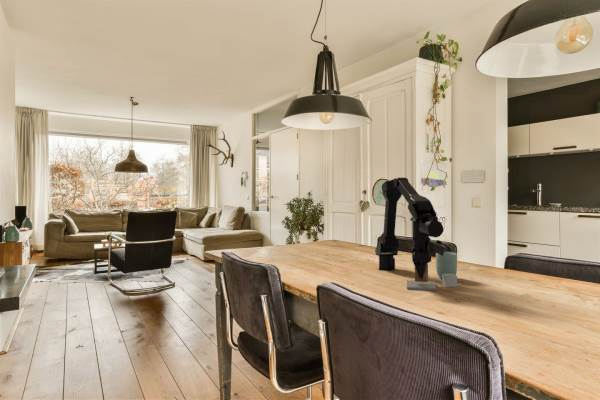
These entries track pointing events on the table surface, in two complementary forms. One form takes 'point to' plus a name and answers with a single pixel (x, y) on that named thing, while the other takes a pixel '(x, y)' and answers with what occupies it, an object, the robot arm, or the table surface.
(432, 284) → the coaster
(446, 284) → the painted cube
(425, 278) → the walnut block
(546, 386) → the table surface
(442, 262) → the cup
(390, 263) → the robot arm
